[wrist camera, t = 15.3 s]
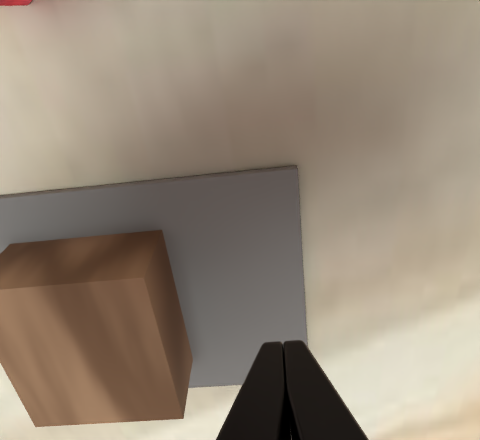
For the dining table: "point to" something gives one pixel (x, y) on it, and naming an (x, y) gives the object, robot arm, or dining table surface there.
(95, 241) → the slab
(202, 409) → the dining table surface
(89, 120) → the dining table surface
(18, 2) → the ink box
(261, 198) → the mat
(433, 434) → the dining table surface
